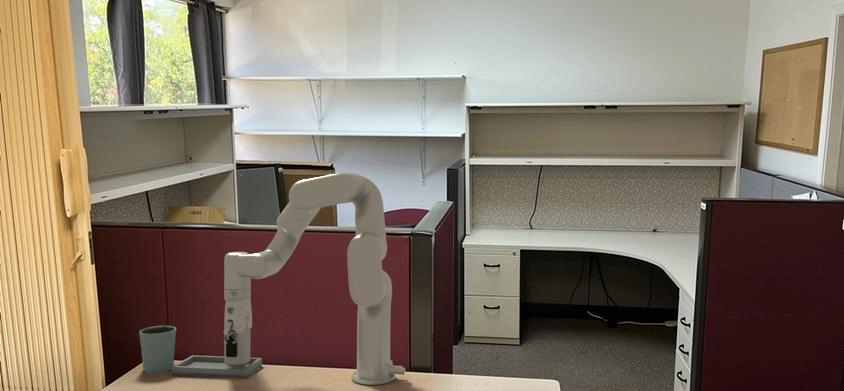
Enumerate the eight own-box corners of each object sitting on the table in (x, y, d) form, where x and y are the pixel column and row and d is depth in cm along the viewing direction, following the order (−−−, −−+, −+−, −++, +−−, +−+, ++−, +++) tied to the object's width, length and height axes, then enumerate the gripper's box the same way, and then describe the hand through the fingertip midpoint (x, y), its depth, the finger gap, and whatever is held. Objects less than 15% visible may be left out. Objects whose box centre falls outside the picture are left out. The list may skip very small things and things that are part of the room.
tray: (262, 366, 190) (262, 358, 190) (245, 378, 178) (245, 370, 178) (192, 363, 193) (192, 355, 193) (171, 375, 180) (171, 366, 180)
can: (242, 368, 180) (242, 327, 180) (219, 367, 181) (219, 326, 181) (254, 361, 187) (254, 322, 187) (232, 360, 189) (232, 320, 189)
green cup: (182, 365, 191) (182, 326, 191) (165, 374, 181) (165, 333, 181) (150, 363, 192) (150, 325, 192) (132, 373, 182) (132, 332, 182)
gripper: (237, 299, 175) (237, 361, 175) (260, 289, 192) (260, 346, 193) (212, 298, 176) (212, 360, 176) (237, 288, 193) (237, 345, 193)
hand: (237, 352), depth 184 cm, fingers closed on can, 7 cm apart
